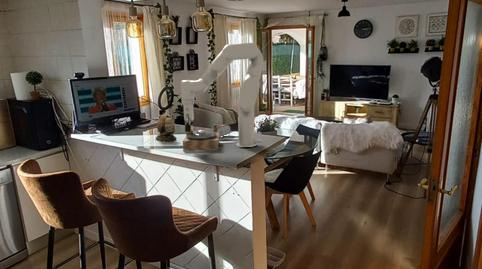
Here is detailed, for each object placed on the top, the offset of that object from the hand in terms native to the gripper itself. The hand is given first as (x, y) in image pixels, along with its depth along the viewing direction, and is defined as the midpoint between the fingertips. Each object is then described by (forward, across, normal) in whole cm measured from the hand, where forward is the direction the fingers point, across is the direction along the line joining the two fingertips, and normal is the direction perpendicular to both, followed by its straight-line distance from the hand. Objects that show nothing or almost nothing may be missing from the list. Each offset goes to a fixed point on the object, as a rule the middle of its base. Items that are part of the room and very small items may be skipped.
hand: (189, 129), depth 208 cm
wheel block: (+10, 0, -7) cm, 13 cm away
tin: (+10, +24, -19) cm, 33 cm away
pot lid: (+4, 0, -7) cm, 8 cm away
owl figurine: (+11, +21, +18) cm, 29 cm away
